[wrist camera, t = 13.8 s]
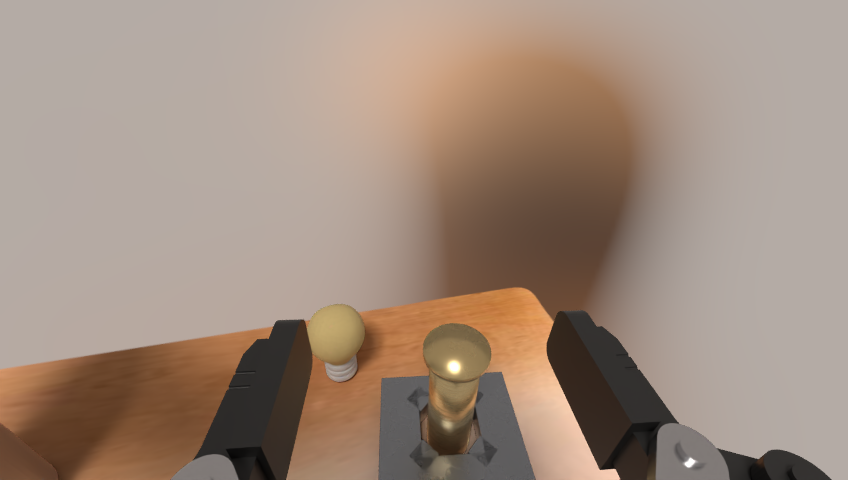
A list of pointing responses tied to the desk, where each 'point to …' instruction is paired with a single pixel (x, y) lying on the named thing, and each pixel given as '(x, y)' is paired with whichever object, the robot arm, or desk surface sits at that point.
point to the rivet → (453, 384)
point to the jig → (451, 474)
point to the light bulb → (337, 339)
